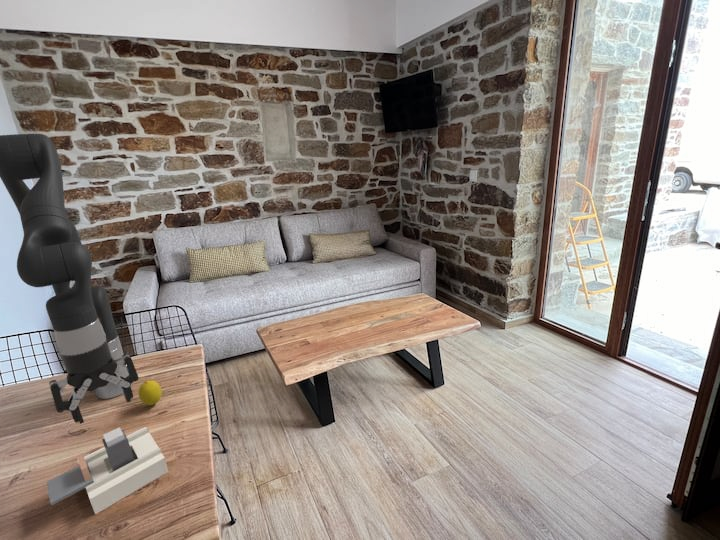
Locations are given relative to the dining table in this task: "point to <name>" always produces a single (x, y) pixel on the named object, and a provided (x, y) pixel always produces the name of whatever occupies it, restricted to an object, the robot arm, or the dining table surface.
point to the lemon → (150, 392)
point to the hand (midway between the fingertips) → (105, 410)
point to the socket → (124, 471)
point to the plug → (117, 448)
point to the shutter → (69, 482)
